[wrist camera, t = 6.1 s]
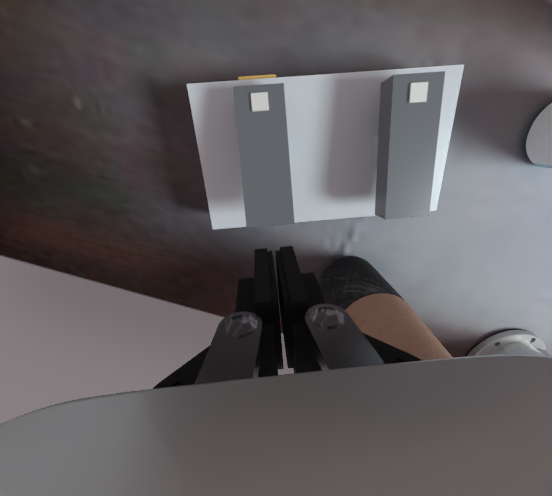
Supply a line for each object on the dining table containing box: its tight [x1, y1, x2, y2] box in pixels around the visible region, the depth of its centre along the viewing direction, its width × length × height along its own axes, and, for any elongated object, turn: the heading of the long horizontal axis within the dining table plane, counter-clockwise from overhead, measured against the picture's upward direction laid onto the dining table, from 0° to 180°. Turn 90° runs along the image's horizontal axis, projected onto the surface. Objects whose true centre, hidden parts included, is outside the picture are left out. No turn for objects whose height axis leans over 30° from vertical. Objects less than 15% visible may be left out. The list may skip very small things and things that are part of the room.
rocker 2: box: [375, 71, 445, 219], centre depth 20 cm, size 4×10×2 cm, turn 4°
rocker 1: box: [233, 83, 295, 228], centre depth 20 cm, size 4×10×2 cm, turn 4°
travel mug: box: [322, 257, 453, 360], centre depth 25 cm, size 8×8×20 cm
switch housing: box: [187, 65, 464, 229], centre depth 24 cm, size 22×12×6 cm, turn 94°
